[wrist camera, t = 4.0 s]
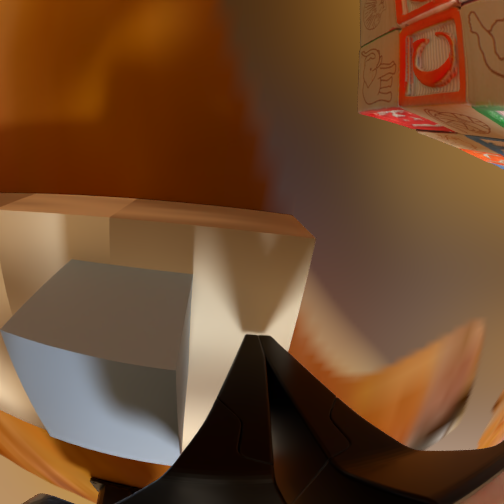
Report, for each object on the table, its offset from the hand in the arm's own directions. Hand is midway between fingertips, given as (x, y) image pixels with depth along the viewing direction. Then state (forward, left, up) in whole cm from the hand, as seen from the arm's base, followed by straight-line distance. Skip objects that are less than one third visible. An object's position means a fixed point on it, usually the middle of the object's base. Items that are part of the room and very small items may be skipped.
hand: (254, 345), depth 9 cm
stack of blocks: (+11, -14, -4) cm, 18 cm away
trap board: (-3, +14, -4) cm, 14 cm away
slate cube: (0, +4, 0) cm, 4 cm away
